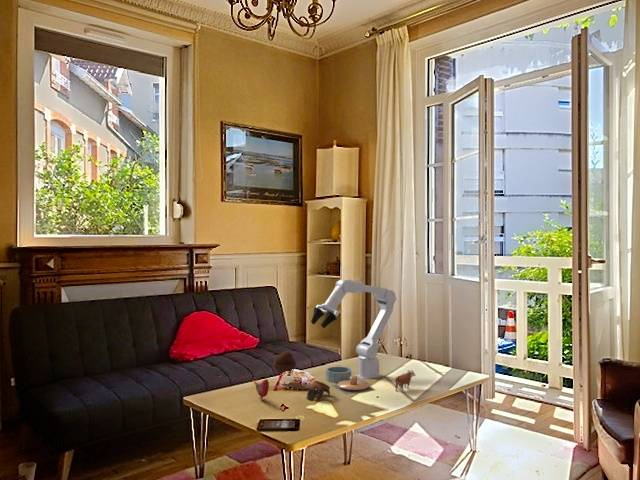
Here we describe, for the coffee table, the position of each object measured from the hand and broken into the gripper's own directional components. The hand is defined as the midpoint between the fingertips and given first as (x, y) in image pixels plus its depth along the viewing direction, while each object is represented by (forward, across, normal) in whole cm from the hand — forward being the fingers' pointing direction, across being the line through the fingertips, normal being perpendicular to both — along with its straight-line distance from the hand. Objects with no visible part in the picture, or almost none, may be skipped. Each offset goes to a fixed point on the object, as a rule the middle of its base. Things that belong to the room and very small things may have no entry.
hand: (317, 325), depth 253 cm
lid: (+14, +16, +24) cm, 32 cm away
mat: (+14, +16, +24) cm, 32 cm away
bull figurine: (+2, +32, +36) cm, 48 cm away
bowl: (+12, +2, +28) cm, 31 cm away
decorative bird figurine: (+42, +4, -6) cm, 42 cm away
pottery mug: (+28, +18, +8) cm, 34 cm away
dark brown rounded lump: (+28, -10, +11) cm, 32 cm away
